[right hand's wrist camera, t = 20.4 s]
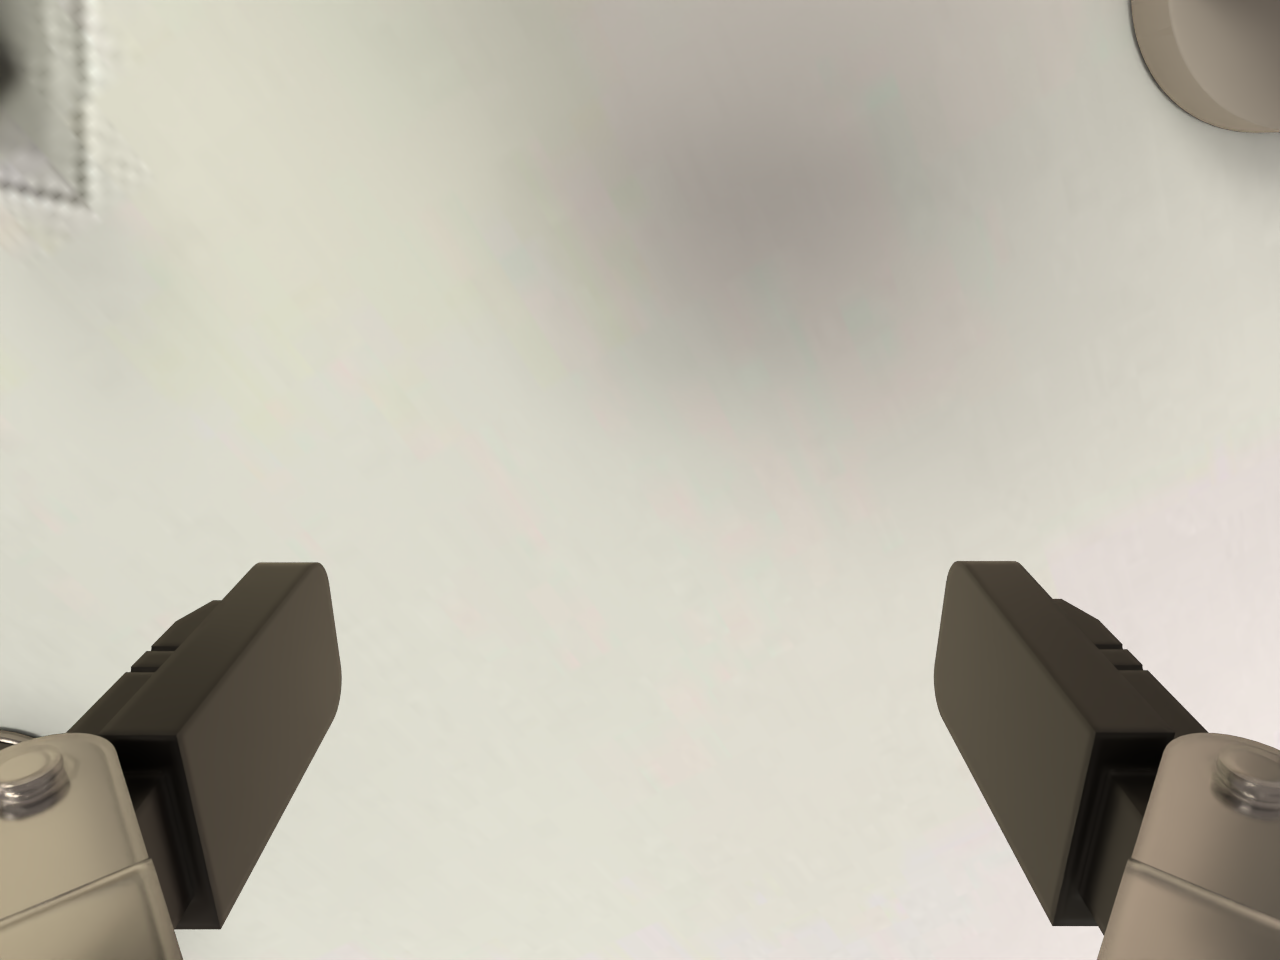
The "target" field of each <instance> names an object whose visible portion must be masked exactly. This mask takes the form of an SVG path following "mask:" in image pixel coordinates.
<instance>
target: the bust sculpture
mask: <svg viewBox="0 0 1280 960" xmlns="http://www.w3.org/2000/svg"><path fill="white" fill-rule="evenodd" d="M1131 7H1132V17H1133V24H1134V29H1135V33H1136V38H1137V41H1138V45H1139V47H1140V50H1141V53H1142V56H1143V58H1144V60H1145V62H1146V65H1147V67H1148V68H1149V70H1150V72H1151V74H1152V75H1153V77H1154V79H1155V80H1156V82H1157V83H1158V85H1159V86H1160V87H1161V88H1162V90H1163V91H1164V92H1165V93H1166V94H1167V95H1168V96H1169V97H1170V98H1171V99H1172V100H1173V101H1174V102H1175V103H1176V104H1177V105H1178V106H1180V107H1181V108H1182V109H1183V110H1185V111H1186V112H1188V113H1189V114H1191V115H1192V116H1194V117H1196V118H1198V119H1200V120H1202V121H1204V122H1206V123H1208V124H1211V125H1214V126H1217V127H1220V128H1224V129H1228V130H1233V131H1239V132H1251V133H1264V132H1280V0H1131Z"/></svg>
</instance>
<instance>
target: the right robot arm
mask: <svg viewBox="0 0 1280 960" xmlns="http://www.w3.org/2000/svg"><path fill="white" fill-rule="evenodd" d="M151 647H152V649H151V651H146V652H145V653H144V654H143V655H142V656H141V657H140V658H139V659H138V660H137V661H136V662H135V663H134V664H133V665H132V666H131V672H126V673H125V674H124V675H123V676H122V677H121V678H120V679H119V680H118V681H117V682H116V683H115V684H114V685H113V686H112V687H111V688H110V689H109V690H108V691H107V692H106V693H105V694H104V695H103V696H102V697H101V698H100V699H99V700H98V701H97V702H96V703H95V704H94V705H93V706H92V707H91V708H90V709H89V710H88V711H87V712H86V713H85V714H84V715H83V716H82V717H81V718H80V719H79V720H78V721H77V722H76V723H75V724H74V725H73V726H72V727H71V728H70V729H69V730H68V731H67V733H62V734H54V735H48V736H43V737H38V738H34V739H31V740H27V741H24V742H21V743H18V744H15V745H12V746H10V747H7V748H5V749H2V750H0V960H183V958H182V954H181V951H180V948H179V945H178V941H177V938H176V935H175V932H174V929H221V928H222V926H223V924H224V922H225V920H226V918H227V917H228V915H229V913H230V911H231V909H232V907H233V905H234V904H235V902H236V900H237V898H238V896H239V894H240V892H241V891H242V889H243V887H244V885H245V883H246V881H247V879H248V878H249V876H250V874H251V872H252V870H253V868H254V866H255V865H256V863H257V861H258V859H259V857H260V855H261V853H262V852H263V850H264V848H265V846H266V844H267V842H268V840H269V839H270V837H271V835H272V833H273V831H274V829H275V827H276V826H277V824H278V822H279V820H280V818H281V816H282V814H283V812H284V811H285V809H286V807H287V805H288V803H289V801H290V799H291V798H292V796H293V794H294V792H295V790H296V788H297V786H298V785H299V783H300V781H301V779H302V777H303V775H304V773H305V772H306V770H307V768H308V766H309V764H310V762H311V760H312V759H313V757H314V755H315V753H316V751H317V749H318V747H319V746H320V744H321V742H322V740H323V738H324V736H325V734H326V733H327V731H328V729H329V727H330V725H331V723H332V721H333V719H334V717H335V715H336V712H337V709H338V705H339V700H340V694H341V680H342V677H341V664H340V657H339V650H338V643H337V636H336V629H335V622H334V615H333V608H332V601H331V594H330V587H329V581H328V577H327V573H326V571H325V569H324V567H323V566H322V565H321V564H320V563H257V564H256V565H254V566H253V567H252V568H251V569H250V571H249V572H248V573H247V574H246V575H245V576H244V577H243V578H242V579H241V580H240V581H239V582H238V583H237V585H236V586H235V587H234V588H233V589H232V590H231V591H230V592H229V593H228V594H227V595H226V596H225V597H224V599H223V600H213V601H211V602H209V603H208V604H206V605H204V606H202V607H201V608H199V609H197V610H195V611H194V612H192V613H190V614H188V615H186V616H185V617H183V618H181V619H179V620H178V621H176V622H175V623H174V624H173V625H172V626H171V627H170V628H169V629H168V630H167V631H166V632H165V633H164V634H163V635H162V636H161V637H160V638H159V639H158V640H157V641H156V642H155V643H154V644H153V645H152V646H151ZM934 688H935V696H936V701H937V705H938V709H939V712H940V715H941V717H942V719H943V721H944V723H945V725H946V727H947V728H948V730H949V732H950V734H951V736H952V738H953V740H954V742H955V744H956V745H957V747H958V749H959V751H960V753H961V755H962V757H963V759H964V760H965V762H966V764H967V766H968V768H969V770H970V772H971V774H972V775H973V777H974V779H975V781H976V783H977V785H978V787H979V789H980V791H981V792H982V794H983V796H984V798H985V800H986V802H987V804H988V806H989V807H990V809H991V811H992V813H993V815H994V817H995V819H996V821H997V823H998V824H999V826H1000V828H1001V830H1002V832H1003V834H1004V836H1005V838H1006V839H1007V841H1008V843H1009V845H1010V847H1011V849H1012V851H1013V853H1014V855H1015V856H1016V858H1017V860H1018V862H1019V864H1020V866H1021V868H1022V870H1023V871H1024V873H1025V875H1026V877H1027V879H1028V881H1029V883H1030V885H1031V886H1032V888H1033V890H1034V892H1035V894H1036V896H1037V898H1038V900H1039V902H1040V903H1041V905H1042V907H1043V909H1044V911H1045V913H1046V915H1047V917H1048V918H1049V920H1050V922H1051V924H1052V926H1099V928H1100V930H1101V931H1102V933H1103V935H1104V938H1103V941H1102V945H1101V948H1100V951H1099V954H1098V958H1097V960H1280V750H1278V749H1275V748H1273V747H1270V746H1268V745H1265V744H1262V743H1259V742H1256V741H1253V740H1249V739H1246V738H1242V737H1237V736H1232V735H1226V734H1218V733H1208V732H1207V731H1206V730H1205V729H1204V728H1203V727H1202V726H1201V724H1200V723H1199V722H1198V721H1197V720H1196V719H1195V718H1194V717H1193V716H1192V715H1191V714H1190V713H1189V712H1188V711H1187V710H1186V709H1185V708H1184V707H1183V706H1182V705H1181V704H1180V703H1179V702H1178V701H1177V700H1176V699H1175V698H1174V697H1173V696H1172V695H1171V694H1170V693H1169V692H1168V691H1167V690H1166V689H1165V688H1164V687H1163V686H1162V685H1161V683H1160V682H1159V681H1158V680H1157V679H1156V678H1155V677H1154V676H1153V675H1152V674H1151V673H1150V672H1149V671H1148V670H1143V668H1142V664H1141V663H1140V662H1139V661H1138V660H1137V659H1136V658H1135V657H1134V656H1133V655H1132V654H1131V653H1130V652H1129V651H1128V650H1127V649H1123V648H1122V644H1121V642H1120V641H1119V640H1118V639H1117V638H1116V637H1115V636H1114V635H1113V634H1112V633H1111V632H1110V631H1109V630H1108V629H1107V628H1106V627H1105V626H1104V625H1103V624H1102V623H1101V622H1100V621H1099V620H1098V619H1096V618H1094V617H1092V616H1091V615H1089V614H1087V613H1085V612H1084V611H1082V610H1080V609H1078V608H1077V607H1075V606H1073V605H1071V604H1069V603H1068V602H1066V601H1064V600H1062V599H1052V598H1051V597H1050V596H1049V595H1048V593H1047V592H1046V591H1045V590H1044V589H1043V588H1042V587H1041V586H1040V585H1039V584H1038V583H1037V581H1036V580H1035V579H1034V578H1033V577H1032V576H1031V575H1030V574H1029V573H1028V572H1027V571H1026V569H1025V568H1024V567H1023V566H1022V565H1021V564H1020V563H1018V562H1016V561H957V562H955V563H954V564H952V566H951V568H950V570H949V573H948V576H947V581H946V588H945V595H944V602H943V609H942V616H941V623H940V631H939V638H938V645H937V652H936V659H935V667H934Z"/></svg>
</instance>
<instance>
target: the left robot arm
mask: <svg viewBox="0 0 1280 960" xmlns="http://www.w3.org/2000/svg"><path fill="white" fill-rule="evenodd" d="M31 739H34V738H32V737H30V736H26V735H23V734H20V733H15V732H10V731H3V730H0V750H2V749H5V748H7V747H10V746H12V745H15V744H18V743H21V742H24V741H27V740H31Z"/></svg>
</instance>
